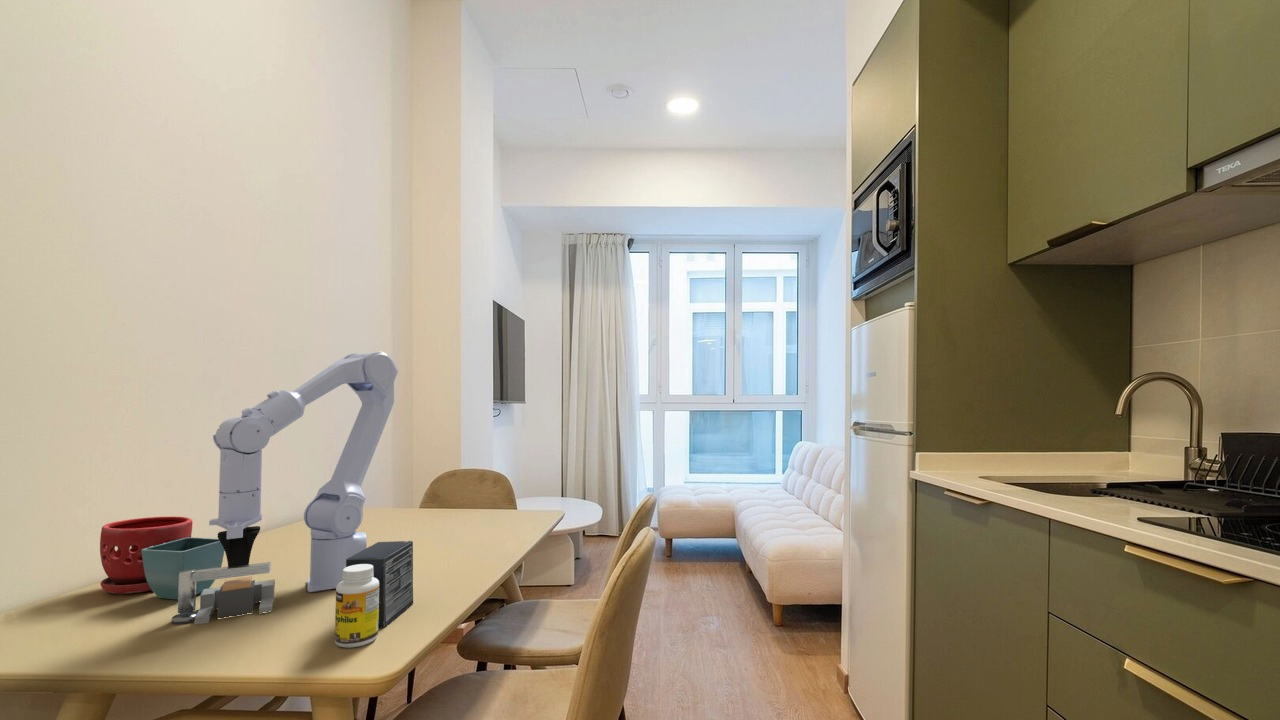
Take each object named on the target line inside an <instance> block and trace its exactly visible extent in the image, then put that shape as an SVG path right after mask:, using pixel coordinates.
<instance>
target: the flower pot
mask: <svg viewBox="0 0 1280 720" xmlns="http://www.w3.org/2000/svg"><path fill="white" fill-rule="evenodd" d="M141 551H142V558H143V566H144V573H145V577H146V580H147V583H148V585H149V587H150V588H151V591H152V592H153V593H154V595H155V596H156V597H158V598H159V599H163V598H164V599H165V600H167V599H169V600H176V601H178V589H179V572H182V571H185V570H202V569H211V568H220V567H223V566H222V565H223V561H224V555H225V550H224V548H223V546H222V544H221V542H220V541H219V539H218V538H210V537H209V538H207V537H196V536H195V537H192V536H191V537H188V538H183V539H179V540H176V541H172V542H168V543H164V544H160V545H157V546H151V547H149V548H145V549H142V550H141ZM215 581H216V579H214V580H206V581H197V582H196V595H199V594H202V592H203V590H204V589H209V588H211V586H212V585H214V583H215Z"/></svg>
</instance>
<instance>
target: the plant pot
mask: <svg viewBox="0 0 1280 720" xmlns="http://www.w3.org/2000/svg"><path fill="white" fill-rule="evenodd" d="M192 533H193V519H192V518H189V517H186V516H153V517H151V516H150V517H141V518H130V519H124V520H123V519H122V520H118V521H113V522H108V523H106V524H104V525H102V527H101V530H100V536H99V537H100V538H99V555H100V561H101V566H102V569H103V571H104V573H105V574H106V576H107V577H106V578H104V579H102V580H101V581H100V583H99V584H100V587H101V589H102V590H104V592H107V593H110V594H117V595H129V594H139V593H145V592H146V593H147V592H151V591H152V590H151V588H150V587H149V585H148V583H147V580H146V577H145V573H144V566H143V558H142V551H141V550H142V549H145V548H149V547H153V546H157V545H160V544H164V543H168V542H172V541H176V540H179V539H183V538H188V537H192ZM116 547H117V550H116V549H115V548H116Z"/></svg>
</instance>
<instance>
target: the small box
mask: <svg viewBox="0 0 1280 720" xmlns="http://www.w3.org/2000/svg"><path fill="white" fill-rule="evenodd" d="M413 562H414V542H413V540H402V541H401V540H399V541H396V540H394V541H378V542H375V543H374V544H371V545H370V546H367V548H366V549H364V550H362V551H361V552H359V553H357V554H355V555H353V556H351V557H349V558H347V559H346V567H348V566H352V565H357V564H370V565H373V573H374V574H373V575H374V576H373V577H374V578H376V579H378V581H379V620H378V629H385V628H386V627H387V626H389V625H390V624H391V623H392V622H394V621H395V620H396V619H398V618H399V616H401V613H402V614H403V613H404V612H405V611H407V609H408V608H410V607H411V606H413V604H414V575H413V574H414V563H413ZM394 619H395V620H394Z"/></svg>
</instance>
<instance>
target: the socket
mask: <svg viewBox="0 0 1280 720" xmlns="http://www.w3.org/2000/svg"><path fill="white" fill-rule="evenodd" d="M275 581H276V579H266V580H260V581H255V592H254V602H259V601H261V602H260V603H259V606H258V614H259V613H263V612H269V611H272V612H273V608H274V602H275V588H276V587H275V585H276V584H275V583H276V582H275ZM220 588H221V586H217V587H210V588H209V589H204V590H203V592H202V593H200V597H199V599H200V601H199V603H200V604H199V605H200V606H199V610H197V611H198V613H197V615H196V617H195V621H194V626H196V625H202V624H208V622H209V623H210V621H211V618H212V616H213V614H214V612H213V611H215V610H218V609H217V608H218V595H219V590H220ZM273 601H274V602H273ZM214 609H215V610H214Z"/></svg>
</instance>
